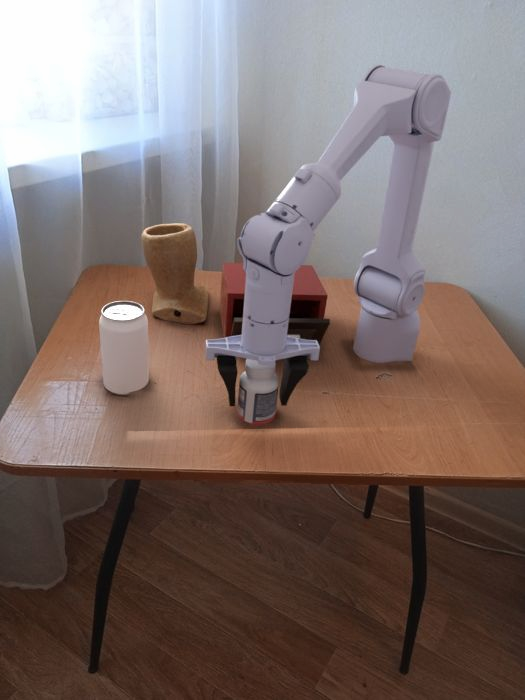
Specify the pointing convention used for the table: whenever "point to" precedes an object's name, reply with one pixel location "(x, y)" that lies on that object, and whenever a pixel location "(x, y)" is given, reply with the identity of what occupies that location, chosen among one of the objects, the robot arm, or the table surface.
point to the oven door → (295, 328)
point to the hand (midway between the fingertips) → (257, 401)
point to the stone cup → (174, 273)
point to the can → (124, 347)
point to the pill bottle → (258, 393)
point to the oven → (304, 300)
